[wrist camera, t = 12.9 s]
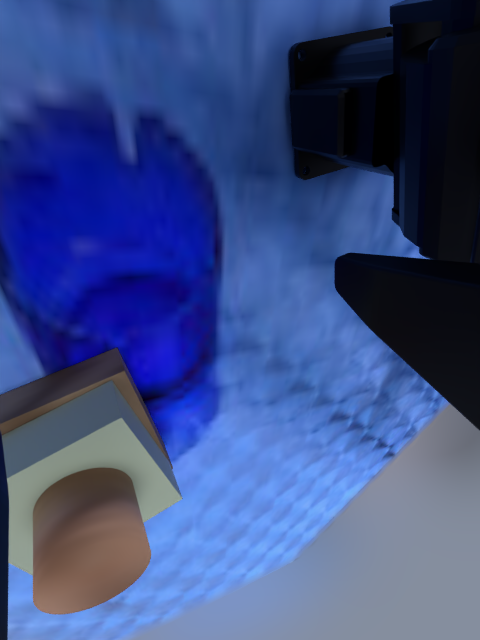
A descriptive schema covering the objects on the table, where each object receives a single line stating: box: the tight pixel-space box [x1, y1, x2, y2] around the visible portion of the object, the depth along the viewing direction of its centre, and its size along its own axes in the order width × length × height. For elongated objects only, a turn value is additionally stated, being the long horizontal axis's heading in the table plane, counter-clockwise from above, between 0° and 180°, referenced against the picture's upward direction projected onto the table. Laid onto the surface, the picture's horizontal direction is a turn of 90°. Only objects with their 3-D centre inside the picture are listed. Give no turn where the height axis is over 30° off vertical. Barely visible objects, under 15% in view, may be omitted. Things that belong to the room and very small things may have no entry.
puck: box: [33, 467, 151, 614], centre depth 18 cm, size 5×5×4 cm
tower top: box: [2, 380, 182, 575], centre depth 21 cm, size 9×9×3 cm
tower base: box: [0, 348, 173, 469], centre depth 23 cm, size 10×10×3 cm
